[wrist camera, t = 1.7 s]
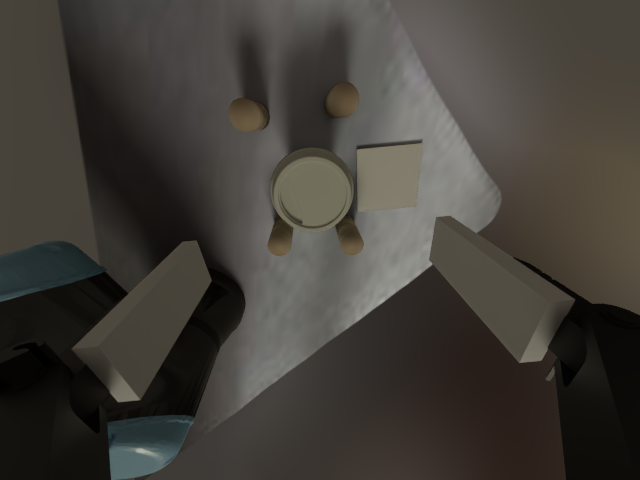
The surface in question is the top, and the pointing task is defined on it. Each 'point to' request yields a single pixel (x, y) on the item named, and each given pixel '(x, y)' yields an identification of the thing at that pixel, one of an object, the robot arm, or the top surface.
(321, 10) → the top surface
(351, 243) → the spacer posts
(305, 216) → the coffee cup
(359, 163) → the felt mat
